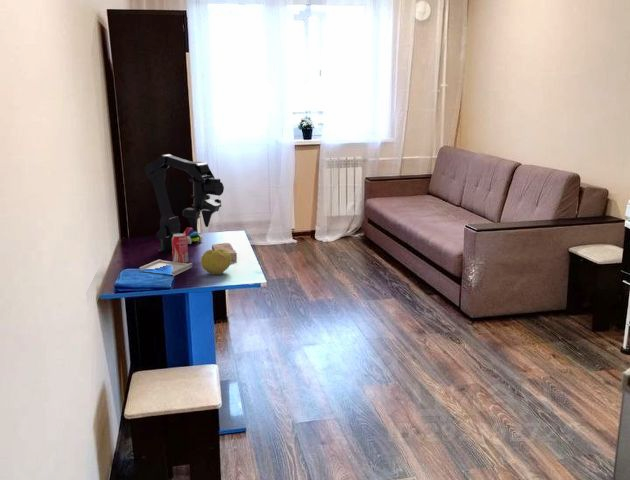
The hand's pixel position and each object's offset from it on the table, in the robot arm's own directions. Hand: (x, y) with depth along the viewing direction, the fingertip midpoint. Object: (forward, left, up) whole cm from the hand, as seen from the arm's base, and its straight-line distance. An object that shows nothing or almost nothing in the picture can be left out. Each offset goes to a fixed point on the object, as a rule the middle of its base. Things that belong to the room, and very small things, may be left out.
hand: (201, 229), depth 253 cm
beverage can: (-3, -11, -12) cm, 17 cm away
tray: (-3, -21, -12) cm, 25 cm away
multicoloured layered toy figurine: (-18, +20, -13) cm, 30 cm away
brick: (+9, +3, -13) cm, 16 cm away
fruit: (+19, -19, -12) cm, 30 cm away
